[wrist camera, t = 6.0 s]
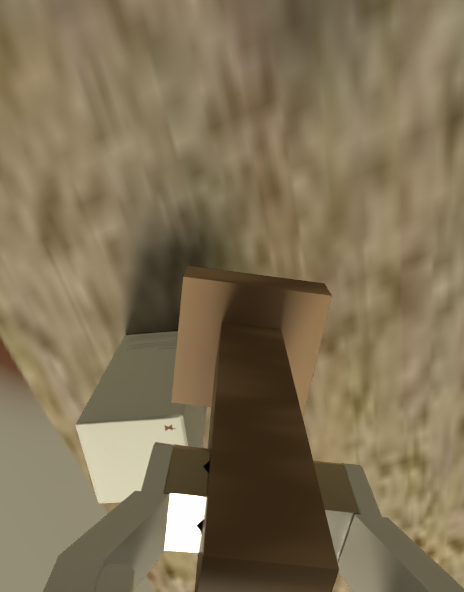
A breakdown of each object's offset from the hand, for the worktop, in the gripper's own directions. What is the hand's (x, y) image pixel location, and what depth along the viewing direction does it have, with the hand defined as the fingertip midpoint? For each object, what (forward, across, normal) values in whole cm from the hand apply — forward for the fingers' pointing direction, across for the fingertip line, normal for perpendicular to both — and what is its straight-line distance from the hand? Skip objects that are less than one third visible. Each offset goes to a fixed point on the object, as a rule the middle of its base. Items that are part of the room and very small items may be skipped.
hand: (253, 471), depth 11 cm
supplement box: (+26, +5, +13) cm, 29 cm away
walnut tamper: (+8, 0, 0) cm, 8 cm away
